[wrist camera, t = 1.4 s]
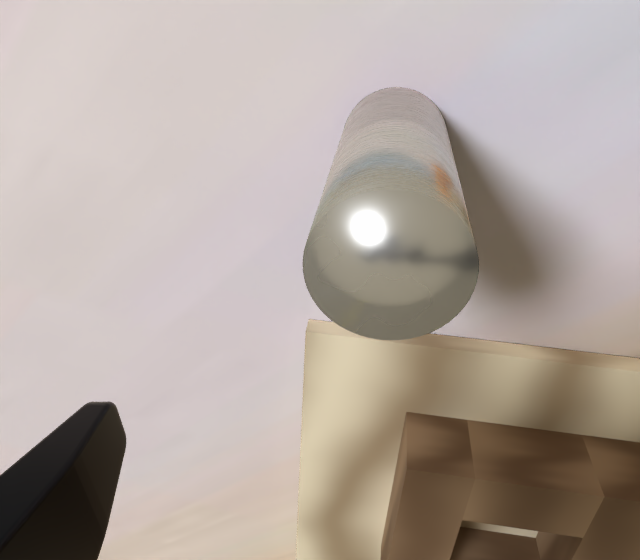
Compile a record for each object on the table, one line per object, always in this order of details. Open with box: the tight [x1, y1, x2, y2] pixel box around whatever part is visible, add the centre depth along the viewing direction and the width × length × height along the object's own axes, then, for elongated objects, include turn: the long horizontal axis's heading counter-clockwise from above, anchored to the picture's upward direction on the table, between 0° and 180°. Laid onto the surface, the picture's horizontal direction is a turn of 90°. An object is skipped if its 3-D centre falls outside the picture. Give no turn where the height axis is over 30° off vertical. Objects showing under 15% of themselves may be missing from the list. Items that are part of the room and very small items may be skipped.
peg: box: [303, 87, 479, 340], centre depth 16 cm, size 4×4×10 cm
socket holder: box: [296, 319, 640, 560], centre depth 28 cm, size 22×20×4 cm
